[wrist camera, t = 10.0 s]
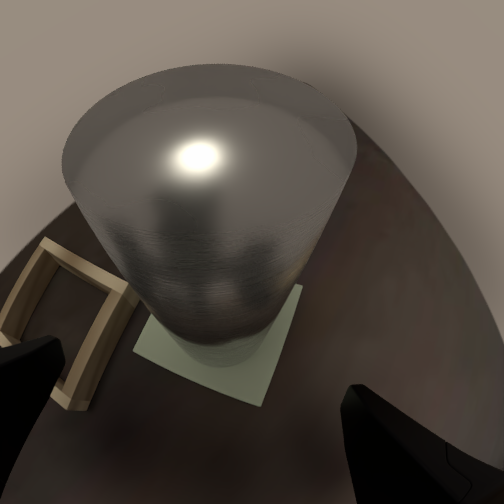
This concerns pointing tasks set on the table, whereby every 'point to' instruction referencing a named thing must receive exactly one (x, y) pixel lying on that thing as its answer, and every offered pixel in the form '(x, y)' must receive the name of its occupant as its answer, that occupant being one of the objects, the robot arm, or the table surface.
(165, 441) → the table surface
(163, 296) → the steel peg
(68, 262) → the wooden square frame
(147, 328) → the green pad
